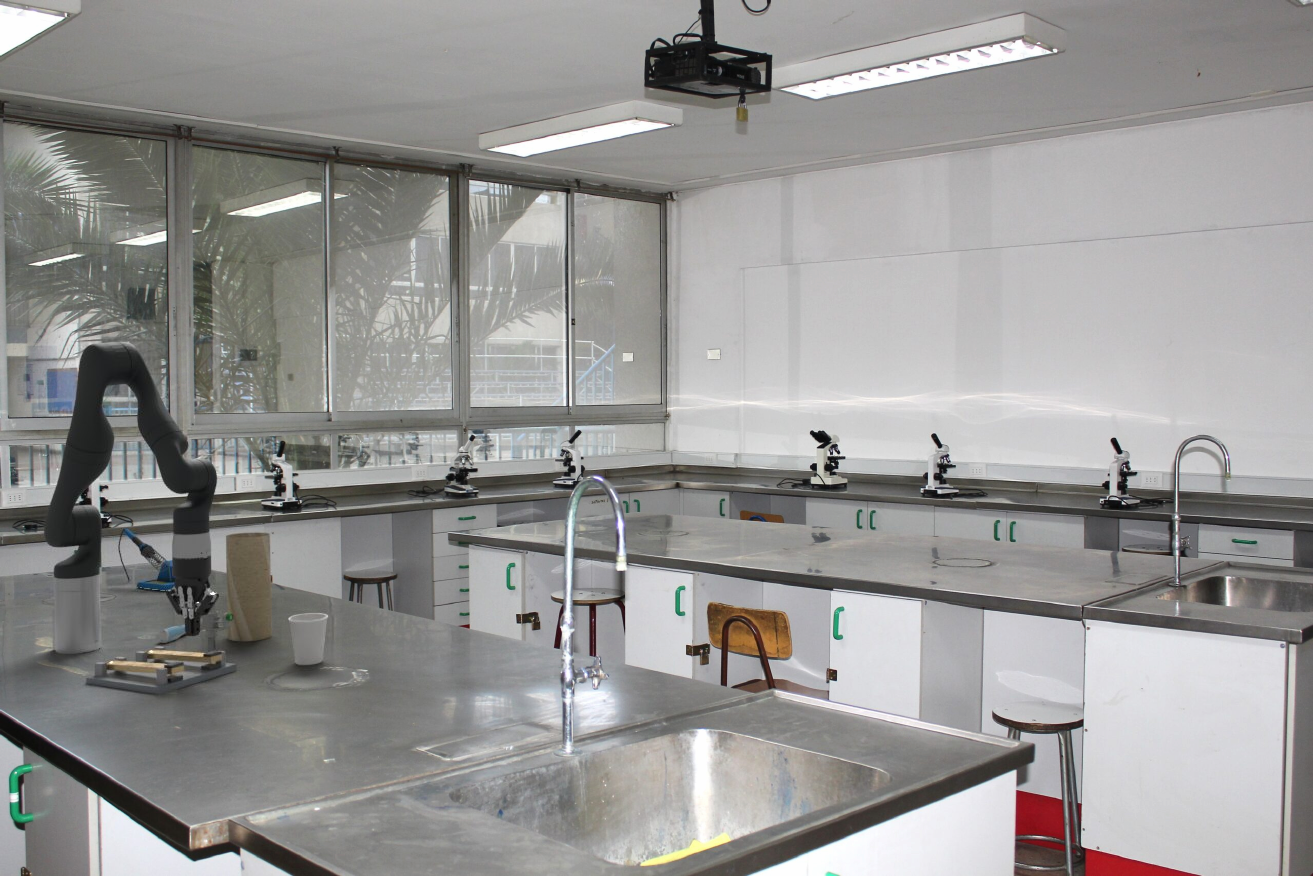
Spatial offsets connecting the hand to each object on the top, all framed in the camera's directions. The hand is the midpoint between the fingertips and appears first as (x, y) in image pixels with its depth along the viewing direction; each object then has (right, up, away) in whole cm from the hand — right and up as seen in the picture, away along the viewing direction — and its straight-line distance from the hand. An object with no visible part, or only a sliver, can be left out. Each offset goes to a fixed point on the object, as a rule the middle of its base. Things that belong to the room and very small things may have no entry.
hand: (192, 635), depth 222 cm
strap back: (-3, -5, +1) cm, 6 cm away
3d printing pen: (-17, -10, +41) cm, 46 cm away
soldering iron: (-50, -5, +113) cm, 124 cm away
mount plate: (-5, -8, -4) cm, 10 cm away
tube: (-1, -7, +34) cm, 35 cm away
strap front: (-7, -6, -8) cm, 12 cm away
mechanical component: (-2, -8, +15) cm, 17 cm away
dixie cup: (+21, -8, +10) cm, 25 cm away
